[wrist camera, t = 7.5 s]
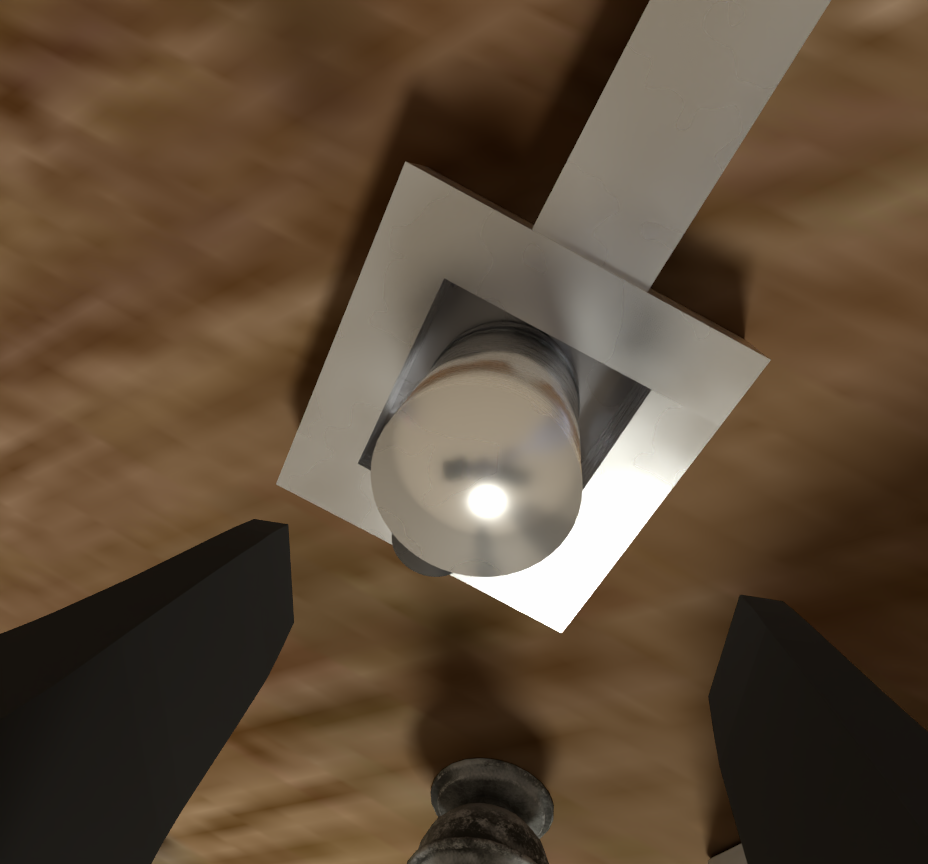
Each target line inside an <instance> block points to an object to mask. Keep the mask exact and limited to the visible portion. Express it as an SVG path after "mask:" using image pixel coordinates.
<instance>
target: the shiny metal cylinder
mask: <svg viewBox="0 0 928 864" xmlns="http://www.w3.org/2000/svg"><path fill="white" fill-rule="evenodd" d="M579 414H580V397H579V385H578V380H577V376H576V373H575V370H574V367H573V365H572V363H571V361H570V360H569V358H568V356H567V355H566V354H565V352H564V351H563V350H562V348H561V347H560V346H559V345H558V344H557V343H556V342H555V341H553V340H552V339H551V338H550V337H548V336H547V335H545V334H544V333H542V332H540V331H539V330H536V329H534V328H532V327H529V326H526V325H522V324H518V323H512V322H494V323H487V324H483V325H479V326H477V327H474V328H472V329H469V330H468V331H466V332H464V333H462V334H461V335H459V336H458V337H457V338H455V339H454V340H453V341H452V342H451V343H450V344H449V345H448V346H447V347H446V348H445V350H444V351H443V352H442V353H441V354H440V356H439V357H438V358H437V360H436V361H435V362H434V364H433V366H432V368H431V369H430V371H429V372H428V373H427V375H426V376H425V377H424V378H423V380H422V381H421V382H420V383H419V385H418V386H417V387H416V388H415V390H414V391H413V392H412V393H411V395H410V396H409V397H408V398H407V400H406V401H405V402H404V403H403V404H402V406H401V407H400V408H399V409H398V411H397V412H396V413H395V414H394V416H393V417H392V418H391V419H390V421H389V422H388V423H387V425H386V426H385V427H384V429H383V431H382V433H381V434H380V436H379V438H378V440H377V443H376V446H375V449H374V452H373V457H372V461H371V487H372V491H373V496H374V500H375V503H376V505H377V508H378V511H379V513H380V515H381V517H382V519H383V520H384V522H385V524H386V525H387V527H388V528H389V530H390V531H391V532H392V534H393V535H394V536H395V537H396V538H397V539H398V540H399V542H400V543H402V544H403V545H404V546H405V547H406V548H407V549H408V550H409V551H411V552H412V553H413V554H415V555H416V556H418V557H419V558H421V559H422V560H424V561H426V562H427V563H429V564H431V565H433V566H436V567H438V568H440V569H443V570H446V571H449V572H452V573H455V574H460V575H465V576H473V577H497V576H504V575H509V574H513V573H517V572H520V571H523V570H525V569H528V568H530V567H532V566H534V565H536V564H538V563H540V562H541V561H543V560H544V559H546V558H547V557H548V556H550V555H551V554H552V553H553V552H554V551H555V550H556V549H557V548H558V547H560V546H561V544H562V543H563V542H564V540H565V539H566V538H567V537H568V535H569V533H570V532H571V530H572V528H573V526H574V525H575V522H576V519H577V517H578V514H579V511H580V506H581V502H582V489H583V488H582V468H581V449H580V430H579Z"/></svg>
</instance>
